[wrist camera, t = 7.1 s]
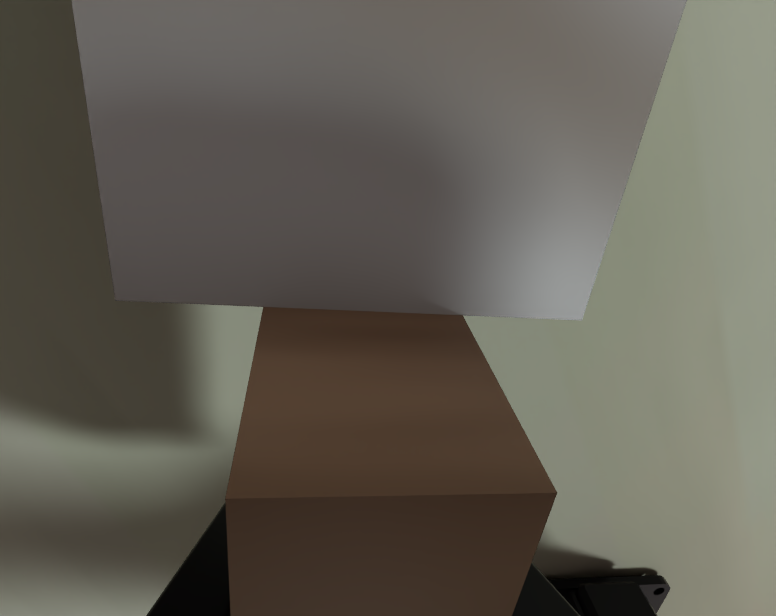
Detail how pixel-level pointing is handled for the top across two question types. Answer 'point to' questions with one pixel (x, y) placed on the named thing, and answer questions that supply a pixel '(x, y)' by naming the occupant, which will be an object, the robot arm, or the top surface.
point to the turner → (371, 257)
